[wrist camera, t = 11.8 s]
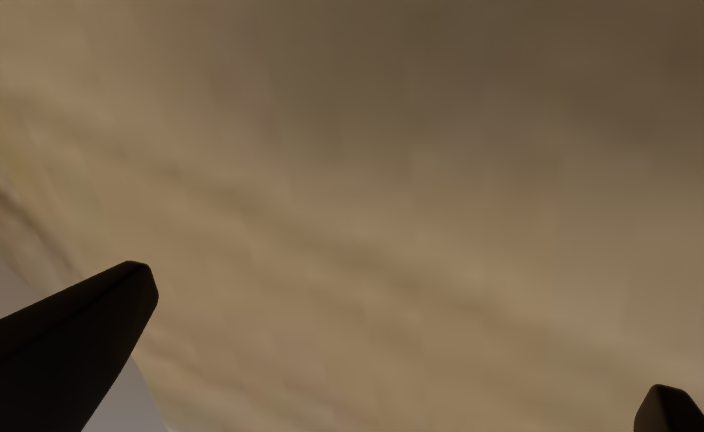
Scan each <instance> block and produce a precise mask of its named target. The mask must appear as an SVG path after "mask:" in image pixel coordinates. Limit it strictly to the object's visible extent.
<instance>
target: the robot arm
mask: <svg viewBox="0 0 704 432" xmlns="http://www.w3.org/2000/svg"><path fill="white" fill-rule="evenodd" d="M158 298H159V294H158V290H157V287H156V284H155V281H154V278H153V274H152V271H151V269H150V267H149V266H148V265H147V264H144V263H140V262H136V261H125V262H123V263H120V264H118V265H116V266H114V267H112V268H110V269H107V270H105V271H103V272H101V273H99V274H97V275H95V276H92V277H90V278H88V279H86V280H84V281H82V282H79V283H77V284H75V285H73V286H71V287H69V288H67V289H64V290H62V291H60V292H58V293H56V294H54V295H51V296H49V297H47V298H45V299H43V300H41V301H39V302H36V303H34V304H32V305H30V306H28V307H26V308H23V309H21V310H19V311H17V312H15V313H13V314H11V315H8V316H6V317H4V318H2V319H0V432H81V431H82V429H83V428H84V426H85V425H86V423H87V422H88V421H89V419H90V418H91V416H92V415H93V413H94V412H95V410H96V409H97V407H98V406H99V404H100V403H101V401H102V400H103V398H104V397H105V395H106V394H107V392H108V391H109V389H110V388H111V386H112V385H113V383H114V382H115V380H116V379H117V377H118V375H119V373H120V372H121V370H122V368H123V367H124V365H125V363H126V362H127V360H128V358H129V356H130V354H131V353H132V351H133V349H134V347H135V345H136V343H137V341H138V339H139V338H140V336H141V334H142V332H143V330H144V328H145V326H146V325H147V323H148V321H149V319H150V317H151V315H152V313H153V311H154V310H155V308H156V306H157V303H158ZM634 432H704V414H703V413H702V412H701V410H700V409H699V408H698V406H697V405H696V404H695V402H694V401H693V400H692V398H691V397H690V396H689V395H688V394H687V393H686V392H685V391H683V390H681V389H678V388H674V387H670V386H665V385H661V384H655V385H653V386H652V387H651V389H650V390H649V392H648V394H647V395H646V397H645V399H644V401H643V403H642V404H641V406H640V408H639V410H638V412H637V414H636V416H635V420H634Z"/></svg>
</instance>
